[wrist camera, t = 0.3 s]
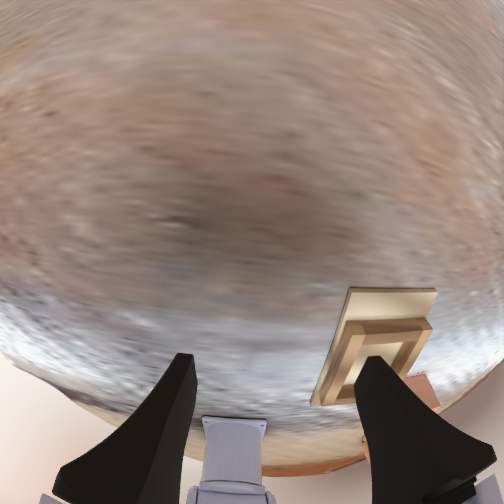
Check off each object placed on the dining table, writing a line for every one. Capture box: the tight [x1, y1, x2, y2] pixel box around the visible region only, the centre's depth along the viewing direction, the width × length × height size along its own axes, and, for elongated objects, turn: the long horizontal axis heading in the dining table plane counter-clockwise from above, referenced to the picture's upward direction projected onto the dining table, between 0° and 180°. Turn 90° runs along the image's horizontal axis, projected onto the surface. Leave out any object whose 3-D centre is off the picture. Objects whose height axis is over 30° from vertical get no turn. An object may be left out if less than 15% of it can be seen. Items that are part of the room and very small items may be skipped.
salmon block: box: [403, 374, 441, 412], centre depth 25 cm, size 6×4×6 cm, turn 177°
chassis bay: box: [310, 288, 438, 406], centre depth 23 cm, size 16×9×2 cm, turn 176°
